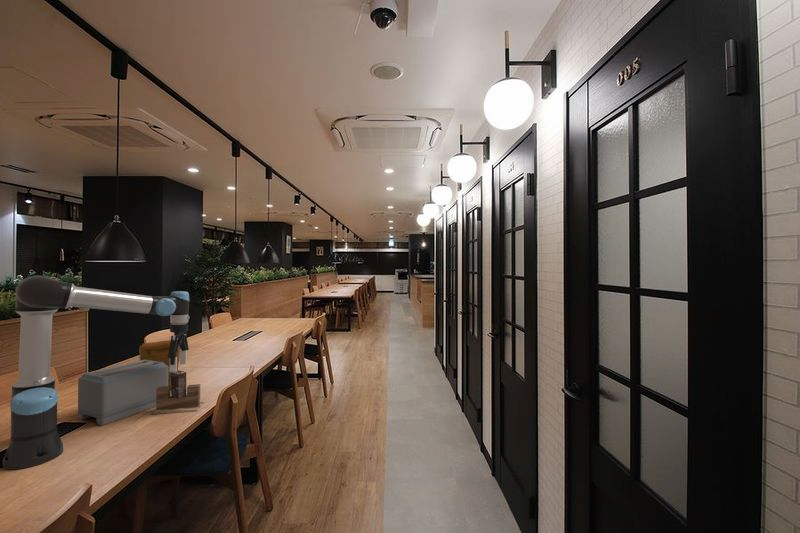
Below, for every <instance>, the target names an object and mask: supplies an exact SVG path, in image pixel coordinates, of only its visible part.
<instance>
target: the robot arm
mask: <svg viewBox="0 0 800 533" xmlns="http://www.w3.org/2000/svg"><path fill="white" fill-rule="evenodd" d="M14 293H15V313H17V314H18V315H19V316H20V328H19V329H20V331H19V354H18V375H17V376H18V377H17V378H18V379H17V380H16V381H14V382H13V383H12V384H11V399H10V405H9V409H10V443H9V444H8V447H7V449H6V451H5V454H4V457H3V459H2V467H3V469H6V470H18V469H19V470H20V469H25V468H30V467H31V468H32V467H35V466H38V465H41V464H44V463H47V462H49V461H51V460H54V459H55V458H57V457H59V456H60V455H62V454H63V452H64V443H63V441H62V439H61V437H60V435H59V433H58V400H59V396H58V391H57V390H56V378H54V377H53V376H51V361H52V360H51V357H52V340H53V339H52V336H53V315H54V314H55V313H57V311H58V310H59V309H64V310H65V309H68V308H70V307H74V308H85V309H96V310H105V311H114V312H116V311H117V312H125V313H126V312H127V313H136V314H137V313H139V314H148V315H155V316H160V317H167V316H170V318H169V320H170V321H169V323H170V325H169V332H170V333H173V335H171V337H170V340H171V342H170V348H169V353H168V356H167V358H170V367H169V372H176V371H177V357H176V355H177V351H178V348H179V346H180V358H179V365H186V364H187V355H188V354H187V351H189V349H190V348H189V343H188V337H187V335H188V334H187V332H188V331H189V324H188V323H189V319H190V316H189V312H190V311H189V310H190V293H189V292H188V291H186V290H185V291H183V290H182V291H181V290H179V291H172V292H170V295H163V296H162V295H161V296H160V295H158V296H157V295H155V296H154V295H153V296H152V295H144V294H136V293H128V292H120V291H113V290H106V289H97V288H89V287H81V286H76V285H75V284H74V283H73V282H71V283H70V282H66V281H65V282H64V281H61V280H57V279H52V278H51V277H50V276H46V275H31V276H27V277H26V278H25V277H24V278H23V279H22V280H20V281H19V282H18V283H17V285H16V287H15V292H14Z"/></svg>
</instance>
